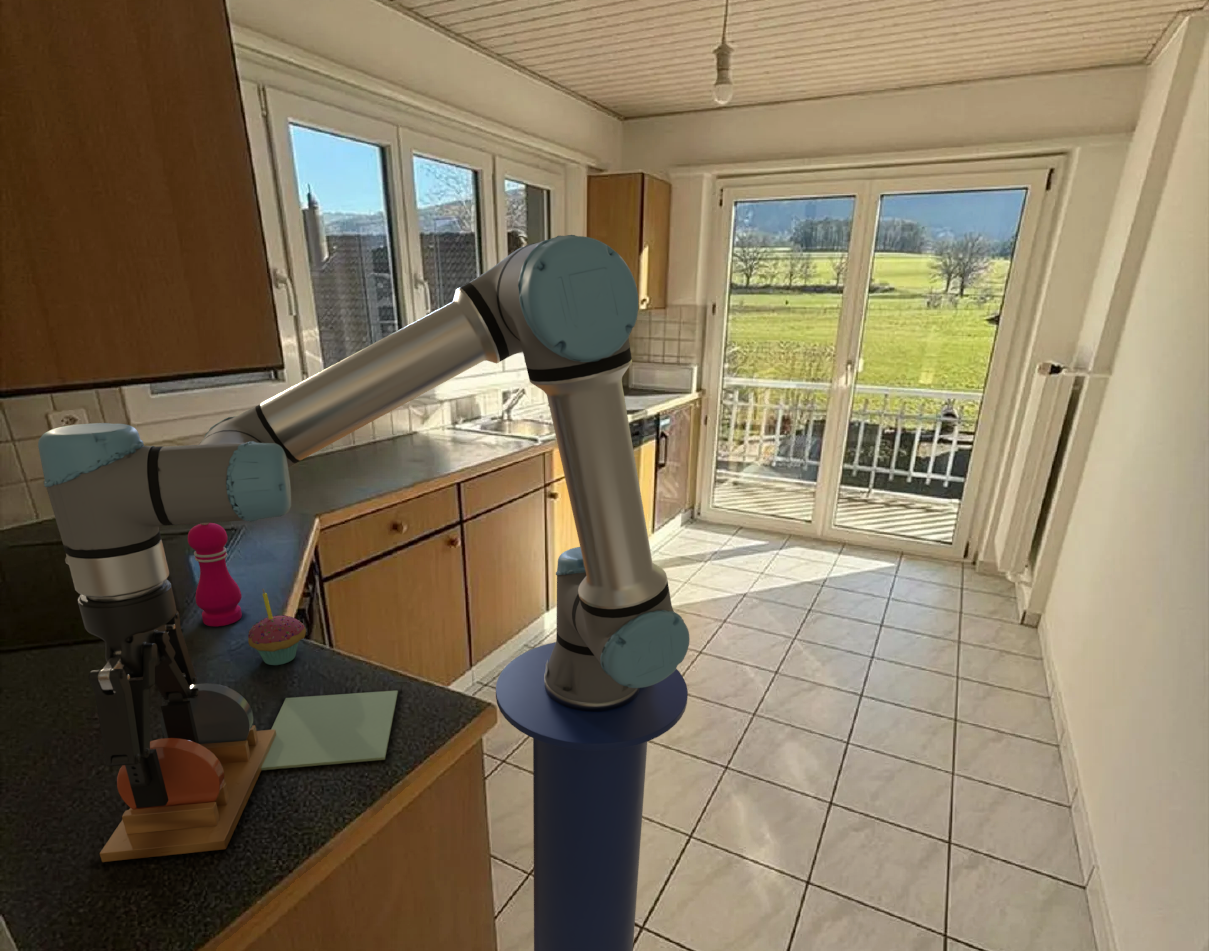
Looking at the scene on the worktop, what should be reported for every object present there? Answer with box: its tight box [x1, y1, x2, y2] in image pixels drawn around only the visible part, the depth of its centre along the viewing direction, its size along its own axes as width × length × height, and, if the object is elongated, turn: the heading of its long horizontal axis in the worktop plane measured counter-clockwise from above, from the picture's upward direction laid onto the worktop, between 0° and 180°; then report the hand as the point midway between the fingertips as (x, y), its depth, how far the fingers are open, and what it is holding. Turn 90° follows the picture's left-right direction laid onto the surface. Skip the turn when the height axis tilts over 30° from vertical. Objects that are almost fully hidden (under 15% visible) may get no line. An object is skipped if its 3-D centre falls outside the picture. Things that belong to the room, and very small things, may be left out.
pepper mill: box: [187, 522, 243, 627], centre depth 118 cm, size 7×7×20 cm
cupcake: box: [247, 588, 307, 666], centre depth 107 cm, size 9×8×12 cm
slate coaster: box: [160, 682, 254, 744], centre depth 82 cm, size 10×2×10 cm, turn 101°
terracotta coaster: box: [116, 737, 224, 810], centre depth 72 cm, size 10×2×10 cm, turn 101°
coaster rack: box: [99, 724, 276, 863], centre depth 79 cm, size 12×20×4 cm, turn 11°
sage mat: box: [261, 690, 399, 771], centre depth 92 cm, size 16×16×1 cm
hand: (170, 776), depth 72 cm, fingers open, 8 cm apart
